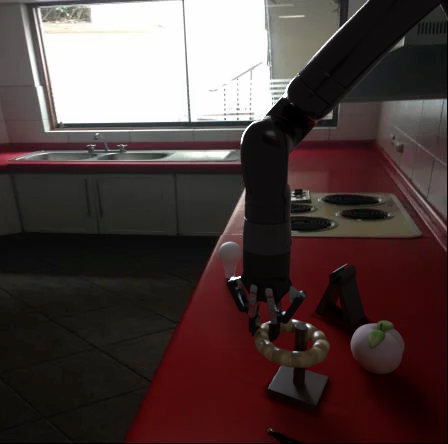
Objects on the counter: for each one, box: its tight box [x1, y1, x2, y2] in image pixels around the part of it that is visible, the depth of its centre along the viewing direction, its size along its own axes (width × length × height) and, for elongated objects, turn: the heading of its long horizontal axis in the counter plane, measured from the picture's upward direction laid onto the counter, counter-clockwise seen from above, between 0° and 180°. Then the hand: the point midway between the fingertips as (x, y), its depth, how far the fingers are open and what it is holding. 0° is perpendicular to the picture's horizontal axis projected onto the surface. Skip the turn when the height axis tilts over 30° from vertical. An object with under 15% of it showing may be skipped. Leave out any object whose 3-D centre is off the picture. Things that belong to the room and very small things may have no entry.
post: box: [267, 323, 329, 414], centre depth 70 cm, size 8×8×12 cm
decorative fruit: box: [350, 320, 405, 375], centre depth 74 cm, size 9×8×10 cm
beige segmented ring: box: [253, 318, 331, 369], centre depth 70 cm, size 12×12×2 cm
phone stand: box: [314, 263, 366, 327], centre depth 90 cm, size 9×6×12 cm, turn 40°
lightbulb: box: [218, 241, 243, 280], centre depth 111 cm, size 6×6×11 cm
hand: (264, 336), depth 72 cm, fingers closed on beige segmented ring, 2 cm apart
